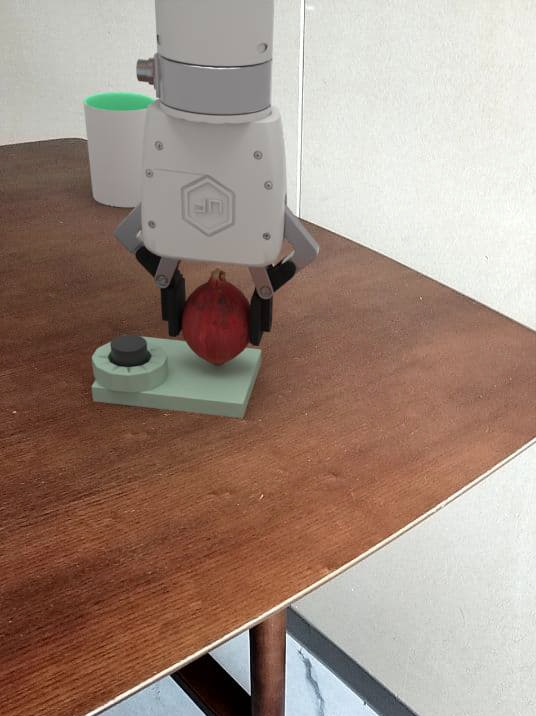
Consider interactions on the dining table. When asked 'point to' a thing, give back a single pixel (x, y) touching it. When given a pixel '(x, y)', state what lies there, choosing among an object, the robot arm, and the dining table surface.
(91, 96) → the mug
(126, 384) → the green dial panel
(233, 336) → the onion
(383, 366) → the dining table surface
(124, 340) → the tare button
